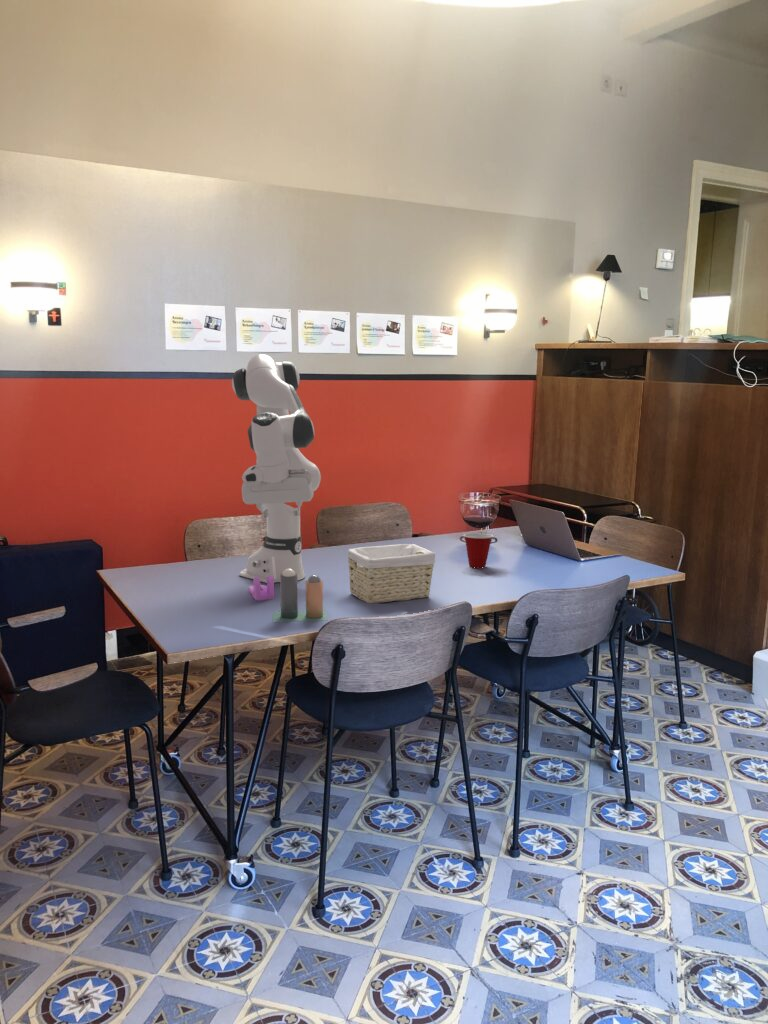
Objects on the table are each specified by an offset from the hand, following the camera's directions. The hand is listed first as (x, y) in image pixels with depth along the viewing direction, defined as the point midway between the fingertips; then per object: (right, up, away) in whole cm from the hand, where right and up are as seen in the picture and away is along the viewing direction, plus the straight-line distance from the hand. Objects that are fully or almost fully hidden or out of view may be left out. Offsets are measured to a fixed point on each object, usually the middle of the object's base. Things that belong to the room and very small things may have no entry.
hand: (281, 515), depth 226 cm
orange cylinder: (+10, -28, -4) cm, 30 cm away
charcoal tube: (+3, -28, -4) cm, 29 cm away
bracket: (-9, -25, +20) cm, 33 cm away
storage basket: (+32, -25, +20) cm, 45 cm away
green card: (+6, -29, -4) cm, 30 cm away
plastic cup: (+63, -19, +58) cm, 88 cm away
